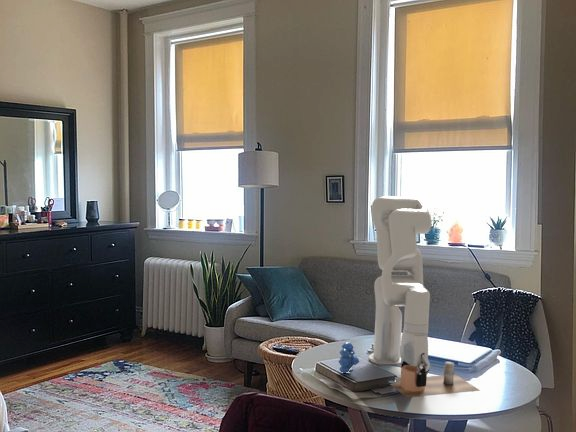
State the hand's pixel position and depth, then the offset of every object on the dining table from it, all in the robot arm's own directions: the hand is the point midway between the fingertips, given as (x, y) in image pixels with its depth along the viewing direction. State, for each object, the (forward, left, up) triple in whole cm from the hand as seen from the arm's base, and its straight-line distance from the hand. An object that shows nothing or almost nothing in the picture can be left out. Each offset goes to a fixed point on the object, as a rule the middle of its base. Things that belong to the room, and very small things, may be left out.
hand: (413, 380), depth 185 cm
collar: (0, 0, -2) cm, 2 cm away
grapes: (-16, -15, -4) cm, 22 cm away
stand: (0, +7, -4) cm, 8 cm away
